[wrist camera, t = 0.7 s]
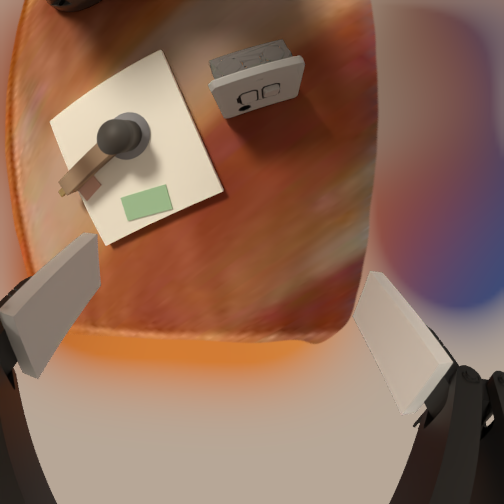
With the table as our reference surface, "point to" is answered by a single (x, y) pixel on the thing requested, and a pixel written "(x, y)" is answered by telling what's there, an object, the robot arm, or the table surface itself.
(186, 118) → the tuner plate
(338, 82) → the table surface
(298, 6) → the table surface
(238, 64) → the electrical switch
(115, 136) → the peg
